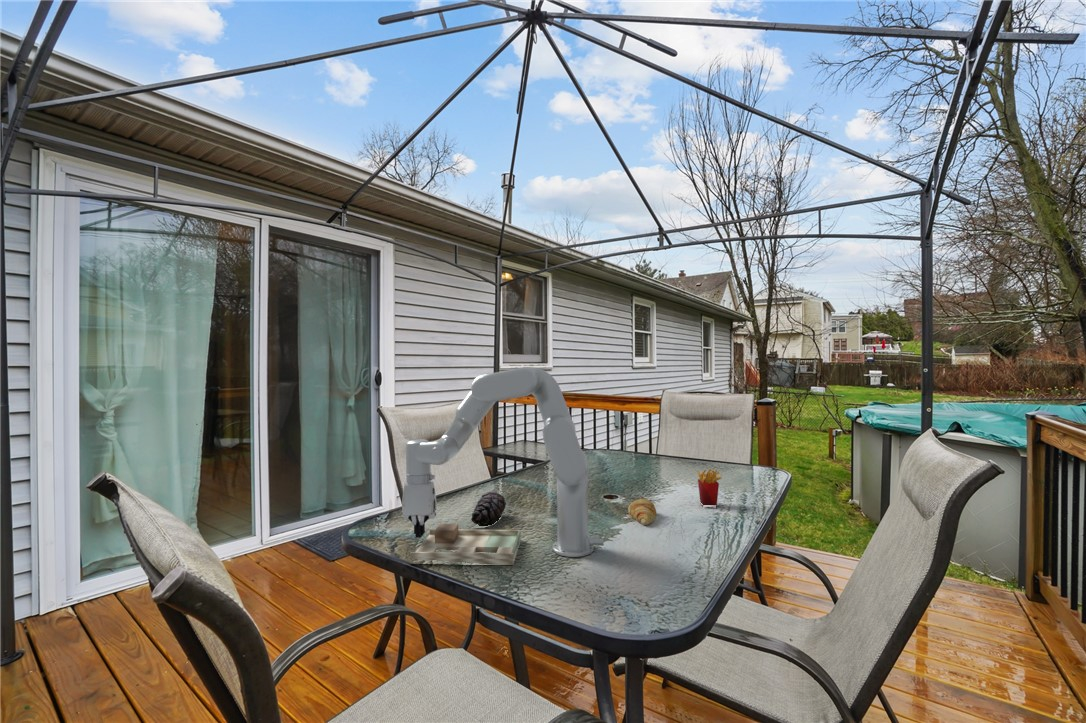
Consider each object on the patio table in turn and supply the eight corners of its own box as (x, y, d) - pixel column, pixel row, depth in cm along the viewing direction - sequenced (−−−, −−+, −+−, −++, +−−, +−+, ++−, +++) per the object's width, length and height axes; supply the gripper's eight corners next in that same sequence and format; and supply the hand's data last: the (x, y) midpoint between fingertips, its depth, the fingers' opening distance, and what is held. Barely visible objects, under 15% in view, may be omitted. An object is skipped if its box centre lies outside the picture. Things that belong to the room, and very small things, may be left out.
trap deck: (520, 540, 156) (520, 530, 156) (513, 566, 137) (513, 553, 137) (430, 539, 158) (430, 529, 158) (410, 564, 139) (410, 552, 139)
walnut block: (458, 536, 156) (458, 524, 156) (453, 543, 150) (453, 530, 150) (440, 536, 156) (440, 523, 156) (434, 543, 150) (434, 530, 150)
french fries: (697, 503, 194) (696, 466, 194) (718, 503, 193) (717, 466, 193) (703, 510, 185) (703, 471, 185) (725, 510, 184) (725, 471, 184)
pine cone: (468, 530, 167) (467, 501, 167) (482, 513, 185) (482, 487, 185) (497, 531, 166) (496, 502, 166) (508, 514, 183) (508, 488, 183)
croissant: (654, 537, 167) (665, 517, 167) (628, 523, 168) (639, 503, 167) (645, 516, 188) (655, 498, 188) (622, 504, 189) (632, 486, 188)
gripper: (444, 475, 157) (445, 532, 157) (400, 475, 158) (400, 531, 158) (438, 481, 149) (439, 540, 149) (391, 481, 150) (392, 540, 150)
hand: (419, 536), depth 153 cm, fingers closed
